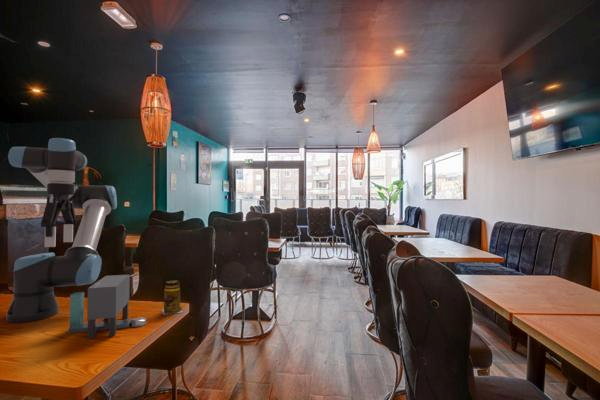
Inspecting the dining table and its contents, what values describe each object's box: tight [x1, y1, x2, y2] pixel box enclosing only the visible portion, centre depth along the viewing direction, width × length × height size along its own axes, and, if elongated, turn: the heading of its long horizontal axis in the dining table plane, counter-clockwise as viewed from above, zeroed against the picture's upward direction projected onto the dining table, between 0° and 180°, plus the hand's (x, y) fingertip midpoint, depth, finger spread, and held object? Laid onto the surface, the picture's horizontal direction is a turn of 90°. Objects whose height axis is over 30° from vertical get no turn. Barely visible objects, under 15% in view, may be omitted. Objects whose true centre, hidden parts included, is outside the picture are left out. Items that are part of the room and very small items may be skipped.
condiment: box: [161, 280, 183, 316], centre depth 124 cm, size 7×8×12 cm
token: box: [130, 316, 147, 328], centre depth 109 cm, size 5×5×2 cm
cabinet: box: [86, 274, 131, 340], centre depth 107 cm, size 18×8×16 cm, turn 17°
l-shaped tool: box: [67, 291, 133, 334], centre depth 106 cm, size 18×5×12 cm, turn 106°
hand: (59, 244), depth 106 cm, fingers open, 13 cm apart
